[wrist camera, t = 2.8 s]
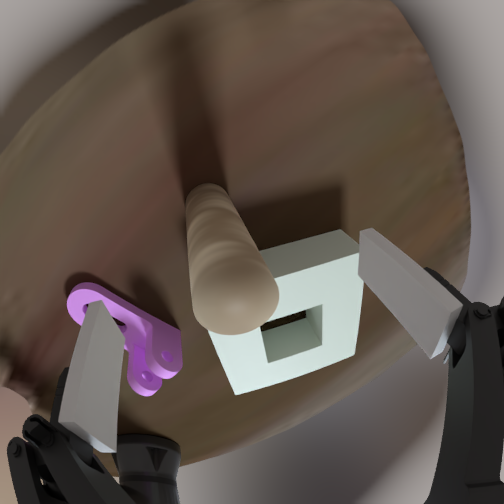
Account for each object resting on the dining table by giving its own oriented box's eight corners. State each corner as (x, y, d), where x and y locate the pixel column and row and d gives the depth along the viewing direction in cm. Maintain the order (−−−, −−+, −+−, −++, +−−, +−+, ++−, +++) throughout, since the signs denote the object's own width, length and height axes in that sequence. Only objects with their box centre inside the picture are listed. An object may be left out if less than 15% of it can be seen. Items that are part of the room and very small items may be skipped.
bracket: (180, 329, 31) (183, 376, 25) (155, 355, 32) (156, 400, 26) (81, 272, 24) (61, 316, 18) (64, 305, 26) (46, 349, 20)
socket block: (228, 365, 35) (235, 395, 31) (192, 268, 27) (196, 299, 23) (338, 330, 37) (354, 354, 33) (340, 229, 29) (365, 250, 25)
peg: (191, 230, 25) (206, 343, 13) (180, 189, 23) (180, 280, 11) (233, 219, 26) (283, 321, 14) (225, 178, 24) (273, 254, 12)
